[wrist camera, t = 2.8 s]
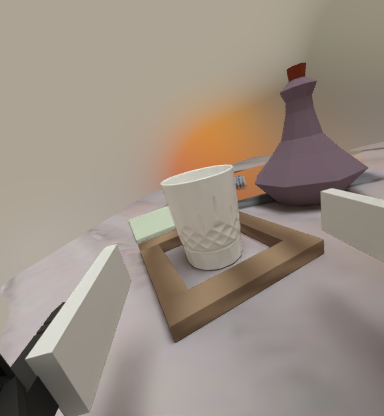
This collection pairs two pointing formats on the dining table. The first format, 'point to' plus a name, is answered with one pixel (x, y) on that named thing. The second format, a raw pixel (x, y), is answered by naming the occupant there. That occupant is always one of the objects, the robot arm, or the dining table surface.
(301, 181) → the flask
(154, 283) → the brown square frame
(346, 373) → the dining table surface
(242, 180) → the woven mat
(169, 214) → the sage pad
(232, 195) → the white cup
